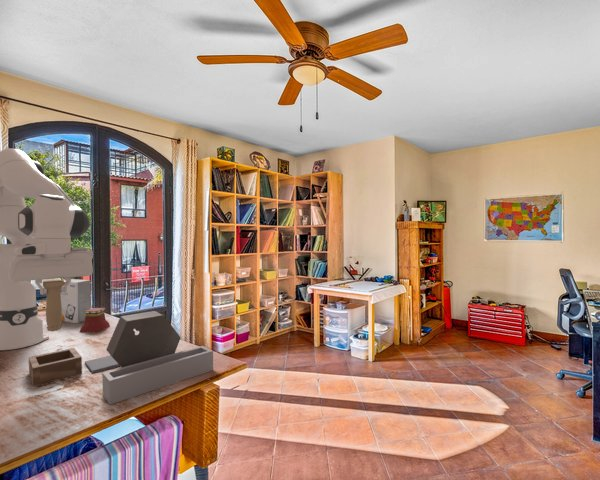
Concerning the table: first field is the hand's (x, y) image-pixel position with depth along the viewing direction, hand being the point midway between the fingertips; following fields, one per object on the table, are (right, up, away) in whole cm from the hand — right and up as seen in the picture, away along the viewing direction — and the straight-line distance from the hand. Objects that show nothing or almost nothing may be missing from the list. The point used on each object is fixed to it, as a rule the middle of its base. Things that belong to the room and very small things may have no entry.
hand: (53, 293), depth 98 cm
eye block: (0, -25, 0) cm, 25 cm away
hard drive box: (-38, -24, +61) cm, 76 cm away
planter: (+27, -25, +2) cm, 37 cm away
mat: (+12, -24, +7) cm, 28 cm away
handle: (0, -12, 0) cm, 12 cm away
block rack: (+36, -25, -5) cm, 44 cm away
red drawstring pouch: (-16, -24, +46) cm, 54 cm away
